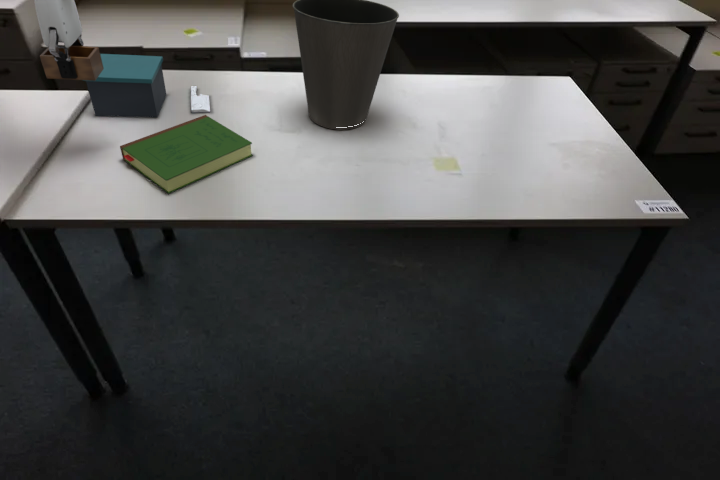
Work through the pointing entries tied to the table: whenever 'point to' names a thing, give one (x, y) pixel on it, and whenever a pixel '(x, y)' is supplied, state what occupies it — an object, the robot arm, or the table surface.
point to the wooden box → (75, 63)
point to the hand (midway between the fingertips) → (75, 70)
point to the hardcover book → (186, 152)
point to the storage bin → (128, 86)
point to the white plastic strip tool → (199, 101)
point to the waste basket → (342, 57)
